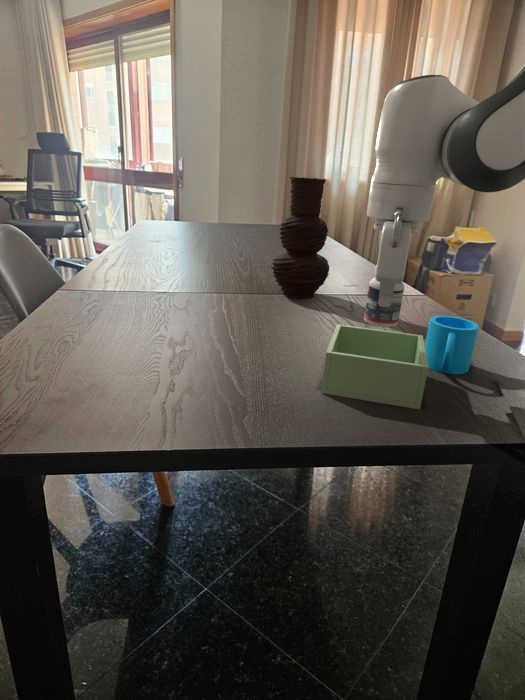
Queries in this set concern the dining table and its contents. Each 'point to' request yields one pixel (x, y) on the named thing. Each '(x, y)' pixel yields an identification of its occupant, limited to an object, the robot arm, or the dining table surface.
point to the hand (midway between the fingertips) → (384, 300)
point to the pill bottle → (378, 313)
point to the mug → (450, 344)
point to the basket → (376, 366)
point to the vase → (302, 241)
